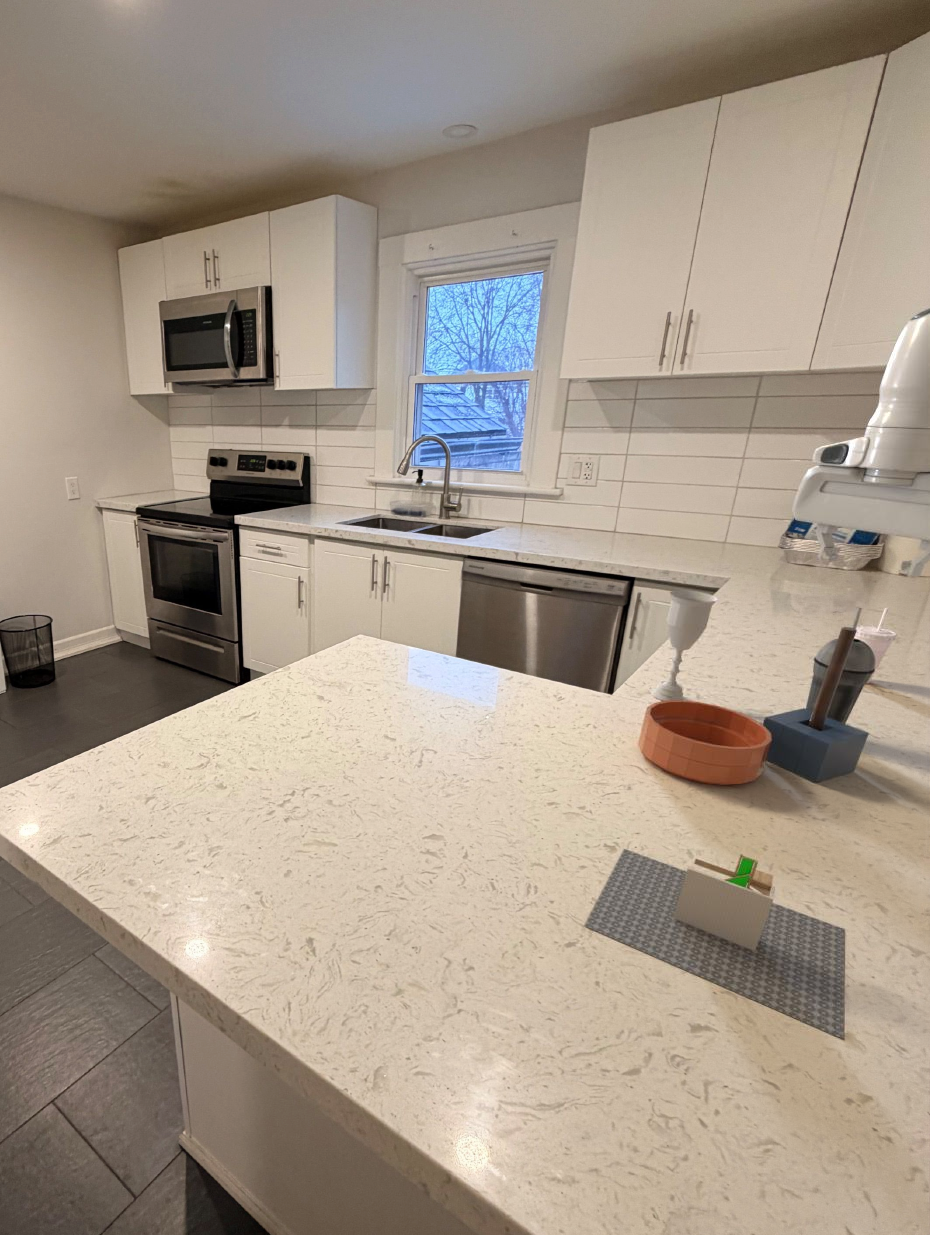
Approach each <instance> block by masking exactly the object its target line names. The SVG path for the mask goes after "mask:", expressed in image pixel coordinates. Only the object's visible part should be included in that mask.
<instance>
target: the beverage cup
mask: <svg viewBox="0 0 930 1235" xmlns="http://www.w3.org/2000/svg"><path fill="white" fill-rule="evenodd" d="M862 609H863V608H862V607H857V609H856V612H855V615H854V619H853V622H852V626H851V628H854V629H856V627H857V626H858V622H859V620H860V617H861V613H862V611H863V610H862ZM837 640H838V638H834V639H832V640H829V641H828V642H826V644H824V645H823V646H821V647H820V649H818V652H817V653H816V656H815V657H814V658H813V666H812V667H813V668H812V674H813V675H812V679H811V683H810V688H809V693H808V697H807V701H806V706H805V709H807V710H810V711H813V710H814V707H815V704H816V701H817V698H818V695H819V692H820V690H821V687H822V684H823V681H824V678H825V675H826V672H827V669H828V666H829V663H830V660H831V658H832V655H833V652H834V649H835V646H836V643H837ZM874 667H875V656H874V653H873V651H872V650H871V648H870V647H869V646H868V645H867V644H866V643H865V642H863V641H861V640H859V639H855V638H854V640H853V643H852V646H851V649H850V652H849V654H848V657H847V660H846V663H845V666H844V669H843V671H842V674H841V677H840V680H839V683H838V685H837V688H836V691H835V694H834V697H833V700H832V702H831V705H830V708H829V711H828V714H827V717H828V718H831V719H833V720H836V721H838V722H841V723H844V724H846V723H847V721H848V719H849V717H850V715H851V713H852V711H853V709H854V707H855V705H856V703H857V701H858V699H859V697H860V695H861V693H862V691H863V689H864V687H865V686H866V684H868V683H867V681H868V680H869V678H870V677H871V675H872V673H873V672H874V671H875V669H874ZM875 672H876V671H875Z"/></svg>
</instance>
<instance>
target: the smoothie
mask: <svg viewBox="0 0 930 1235" xmlns="http://www.w3.org/2000/svg"><path fill="white" fill-rule="evenodd" d="M889 610H890V608H889V607H885V608H884V610H883V613H882V616H881V618H880V620H879V622H878V623H879V624H878V626H872V625H857V627H856V630H857V632H856V635H855V637H854V638H855V639H859V640H861V641H863V642H865V643H866V644H867V645H868V646H869V647H870V648H871V650H872V651H873V653H874V656H875V667H874V669H875V671H874V672H873V673H872V675H871V677H870V678H869V680H868V681H867V683H866V684H869V683H870V682H871V681H872V678H873V677H874V675H875V674H876V671H877V670H878V669H879V666H880V664H881V662H882V661H883V659H884V657H885V656H886V653H887V652H888V650H889V648H890V647H891V644H892V643H893V642H894V641H896V639H897V635H898V634H897V633H896V632H894V631H892V630H890V629H886V628H883V626H884V623H885V621H886V618H887V615H888V613H889Z"/></svg>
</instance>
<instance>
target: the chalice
mask: <svg viewBox="0 0 930 1235" xmlns="http://www.w3.org/2000/svg"><path fill="white" fill-rule="evenodd" d="M669 594H670V598H671V601H670V605H669V610H668V614H667V619H666V629H667V634H668V638H669V641H670V645H671V647H672V648H673V649H675V654H674V657H673V658H671V661H672V666H671V667H670V668H669V669H668V671H669V674H670V675H669V678H668V679H666V680H665V681H661V682H659V683H658V686H657V687H656V688H655V690H653V691H652V692H651V695H652V696H653V697H654V698H655V699H658V700H660V701H669V700H684V701H686V700H685V697H684V692H683V687H682V686H681V684H680V683H678V681H677V676H678V674H680V673H681V670H680V665H681V663H682V662H683V659H682V656H683V652H684V651H688V650H690V649H691V648H692V647H693V646H694V645H695V643H697V641H698V640H699V639H700V637H702V635H703V633H704V632H705V630H706V629H707V626H708V622H709V619H710V615H711V611H712V608H713V606H714V604H715V603H716V602H717V601H718V598H717V597H716V596H714V595H712V594H709V593H706V592H702V591H696V590H688V589H676V590H672V591H670V592H669Z"/></svg>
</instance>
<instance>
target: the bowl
mask: <svg viewBox="0 0 930 1235" xmlns="http://www.w3.org/2000/svg"><path fill="white" fill-rule="evenodd" d="M771 742H772V737H771V733H770V732H769V731H768V729H767V728H766V727H765V726H764V725H763V723H760V722H759V721H757V720H756V719H755V718H753V717H751V716H748V715H745V714H743V713H741V712H739V711H736V710H733V709H729V708H726V707H723V706H719V705H716V704H711V703H705V702H701V701H694V700H693V701H692V700H669V701H663V700H660V701H657V702H654V703H652V704H650V705H648V706H647V707H646V709H645V713H644V717H643V721H642V725H641V730H640V734H639V739H638V742H637V746H638V749H639V750H640V752H641V754H642V755H644V757H646V758H647V759H648V760H649V761H650V762H652V763H653V764H654V765H656V766H657V767H659V768H661V769H663V770H664V771H666V772H667V773H670V774H672V775H675V776H678V777H681V778H683V779H687V780H689V781H694V782H698V783H703V784H710V785H720V786H721V785H722V786H726V785H727V786H728V785H730V786H731V785H736V784H737V785H740V784H745V783H749V782H753V781H756V779H758V778H759V777H760V776H761V775H762V773H763V769H764V766H765V763H766V761H767V760H766V757H767V754H768V751H769V748H770V745H771Z"/></svg>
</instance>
